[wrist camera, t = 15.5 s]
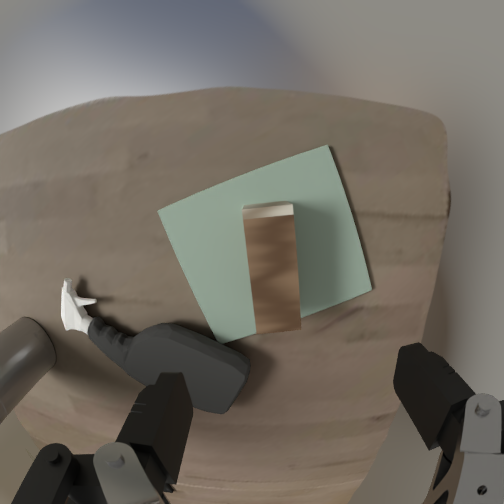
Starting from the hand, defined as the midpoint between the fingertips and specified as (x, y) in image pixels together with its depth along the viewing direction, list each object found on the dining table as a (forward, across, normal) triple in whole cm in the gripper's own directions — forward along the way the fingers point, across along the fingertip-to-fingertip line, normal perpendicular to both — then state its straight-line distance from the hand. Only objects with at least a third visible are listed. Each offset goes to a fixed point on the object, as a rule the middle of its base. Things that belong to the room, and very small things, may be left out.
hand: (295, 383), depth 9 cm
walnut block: (+17, 0, +6) cm, 18 cm away
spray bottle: (+20, +16, +10) cm, 27 cm away
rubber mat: (+20, 0, 0) cm, 20 cm away
